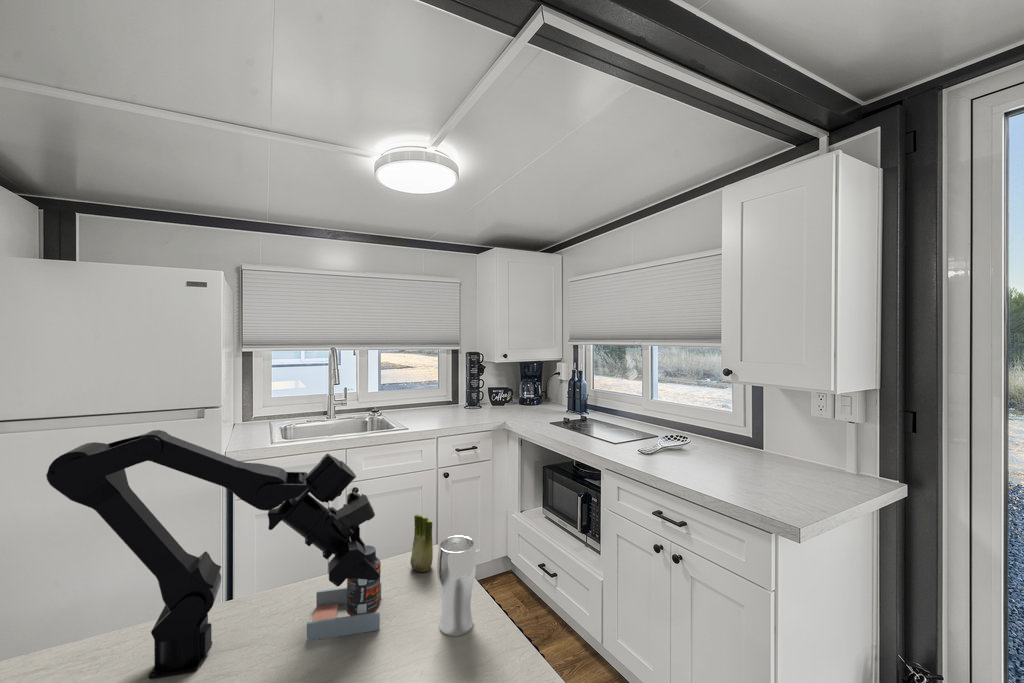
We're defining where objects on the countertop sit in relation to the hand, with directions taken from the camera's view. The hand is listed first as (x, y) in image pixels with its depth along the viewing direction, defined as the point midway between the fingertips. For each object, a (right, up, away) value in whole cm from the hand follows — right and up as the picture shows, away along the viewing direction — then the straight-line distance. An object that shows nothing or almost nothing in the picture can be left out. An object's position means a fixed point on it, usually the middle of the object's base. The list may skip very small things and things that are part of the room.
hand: (376, 569), depth 83 cm
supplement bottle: (-2, -7, -1) cm, 8 cm away
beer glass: (+16, -9, -3) cm, 18 cm away
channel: (-5, -8, -1) cm, 10 cm away
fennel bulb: (+5, -8, +16) cm, 19 cm away
